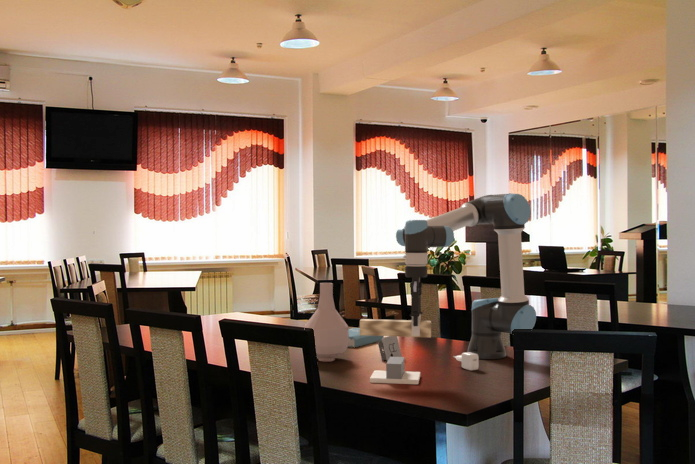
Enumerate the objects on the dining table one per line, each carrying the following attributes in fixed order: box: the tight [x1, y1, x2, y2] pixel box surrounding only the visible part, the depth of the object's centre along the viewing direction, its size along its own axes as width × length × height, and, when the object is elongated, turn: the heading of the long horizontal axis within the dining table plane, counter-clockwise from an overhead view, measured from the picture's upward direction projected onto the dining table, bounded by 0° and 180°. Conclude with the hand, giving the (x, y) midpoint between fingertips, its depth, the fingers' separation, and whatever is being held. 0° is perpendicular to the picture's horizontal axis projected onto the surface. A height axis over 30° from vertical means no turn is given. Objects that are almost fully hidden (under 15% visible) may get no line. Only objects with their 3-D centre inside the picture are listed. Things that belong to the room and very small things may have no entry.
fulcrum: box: [369, 356, 421, 385], centre depth 219 cm, size 16×12×6 cm
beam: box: [359, 318, 432, 338], centre depth 219 cm, size 24×4×5 cm, turn 81°
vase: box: [304, 282, 349, 362], centre depth 253 cm, size 18×18×30 cm
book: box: [347, 327, 385, 349], centre depth 292 cm, size 23×16×5 cm
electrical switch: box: [377, 336, 403, 361], centre depth 254 cm, size 9×5×9 cm, turn 141°
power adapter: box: [452, 351, 480, 371], centre depth 238 cm, size 11×5×6 cm, turn 28°
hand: (416, 334), depth 218 cm, fingers closed on beam, 4 cm apart
